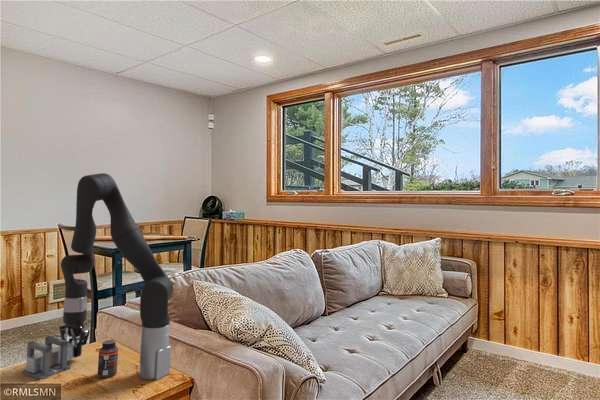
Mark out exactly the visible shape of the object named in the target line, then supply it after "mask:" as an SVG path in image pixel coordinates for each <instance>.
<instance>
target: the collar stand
mask: <svg viewBox="0 0 600 400" xmlns="http://www.w3.org/2000/svg"><path fill="white" fill-rule="evenodd" d="M44 340H45V341H44V343H45V344H43V343H40V342H36V341H28V342H27V343H26V344H27V346H26V358H27V357H28V356H31V355H34V354H35V350H36V351H38V352H43V362H42V370H40V371H38V372H35V373H32V372H29V371H27V370H26V368H25V369H23V370H21V372H22V373H21V374H23V375H26V376H29V377H30V378H34V377H35V378H34V379H36V378H37V380H40V381H42V380H44V379H47V378H49V377H52V376H54V375H57V374H60V373H62V371H63V372H64V371H65V372H66V371H67V370H70V369H71V365H69V364H68V361H67V351H68V341H65V340H62V339H61V338H58V337H54V336H52V335H51V336H50V335H49V336H46V337H45V338H44ZM53 345H57V346H58V347H59V346H61V351H60V363H59V364H57V365H54V366H51V367H50V351H51V349H53ZM26 364H27V362H26Z"/></svg>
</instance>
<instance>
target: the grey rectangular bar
mask: <svg viewBox="0 0 600 400" xmlns="http://www.w3.org/2000/svg"><path fill="white" fill-rule="evenodd" d="M74 347H75V346H74V341H73V342H71V343H68V351H67V362H68V361H70V360H73V359H77V357H74ZM60 351H61V346H59V345H58V346H56V347H52V349H51V351H50V367H51V366H54V365H57V364H59V363H60ZM82 354H83V346H81V355H80V356H82ZM80 356H79V357H80ZM42 362H43V352H42V351H39V352H38V353H34V355H31V356H28V357H27V356H26V363H27V364H26V365H25V366H26V367H25V369H26V370H27V371H29V372H32V373H35V372H38V371H40V370H42Z"/></svg>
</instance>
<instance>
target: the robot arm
mask: <svg viewBox="0 0 600 400" xmlns="http://www.w3.org/2000/svg"><path fill="white" fill-rule="evenodd" d="M98 201H99V202H100V201H103V203H104V204H105V206H106V208H107V211H108V213H109V217H110V225H109V226H110V229H109V230H110V237H111V240H112V242H113V243H114V244H115V246H116V249H117V250H118V251H119V253H120V254H121V255H122V256H123V258H124V259H125V260H126V261H127V262H128V263H129V264H130V265H132V266H133V268H135V269H136V270H137V272H138V273H139V275H140V276H141V278H142V280H143V282H144V284H143V286H142V288H141V290H140V297H139V298H140V299H139V301H140V302H139V316H140V320H141V327H140V328H141V330H140V331H141V332H140V349H139V351H140V352H139V370H138V371H139V373H138V375H139V377H140V378H141V379H142V380H156V381H158V380H159V379H161V378H164V377H165V376H167V375H169V374H170V373H171V356H172V355H171V352H172V345H170V329H171V328H170V324H171V323H170V322H171V316H170V314H169V308H168V307H169V299H171V297H172V296H173V293H174V285H173V282H172V280H171V279H170V277H169V276H168V275H167V274H166V272H165V271H164V270H163V268H162V267H161V265H160V264H159V263H158V261H157V259H156V257H155V255H154V253H153V251H152V250H151V248H150V246H149V244H148V242H147V240H146V239H145V236H144V235H143V233H142V231H141V229H140V228H139V226H138V224H136V222H135V219H134V218H133V216H132V214H131V212H130V211H129V208H128V206H127V205H126V202H125V200H124V199H123V195H122V193H121V191H120V189H119V187H118V184H117V182H116V180H115V179H114V177H112V176H111V175H110V174H108V173H102V172H101V173H95V174H89V175H84V176H82V177H81V178H80V179H79V180H78V183H77V188H76V208H75V209H76V210H75V211H76V214H75V226H74V231H73V234H72V235H73V236H72V240H71V244H70V248H71V250H72V251H73V252H75V253H78V254H68V255H65V256H64V257H62V259H61V261H60V269H61V272H62V275H63V279H64V285H65V288H64V289H65V290H64V301H63V314H62V315H63V316H62V323H63V324H62V325H59V326H58V327H59V333H60V339H62V340H65V341H68V343H71V342H74V346H75V347H74V357H76V358H78V357H80V355H81V346H82V347H83V346H85V345H87V343H88V338H89V337H90V329H86V328H85V325H84V324H85V322H86V321H87V317H88V316H87V315H88V281H87V280H85V279H78V278H75V276H74V275H79V274H87V273H89V272H91V271H92V270H93V268H94V266H95V262H94V261H95V260H94V254H93V253H94V245H95V239H96V237H97V225H96V222H95V220H94V217H93V209H94V207H95V204H96V202H98ZM81 356H82V355H81Z"/></svg>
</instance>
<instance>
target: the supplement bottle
mask: <svg viewBox="0 0 600 400" xmlns="http://www.w3.org/2000/svg"><path fill="white" fill-rule="evenodd" d="M116 345H117V344H116V340H114V339H106V340H103V342H102V347H101V348H99V351H98V360H97V361H98V363H97V377H99V378H102V379H103V378H104V379H106V378H107V379H108V378H111V377H114V376H115V375H117V372H118V358H119V357H118V356H119V347H117V346H116Z"/></svg>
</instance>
